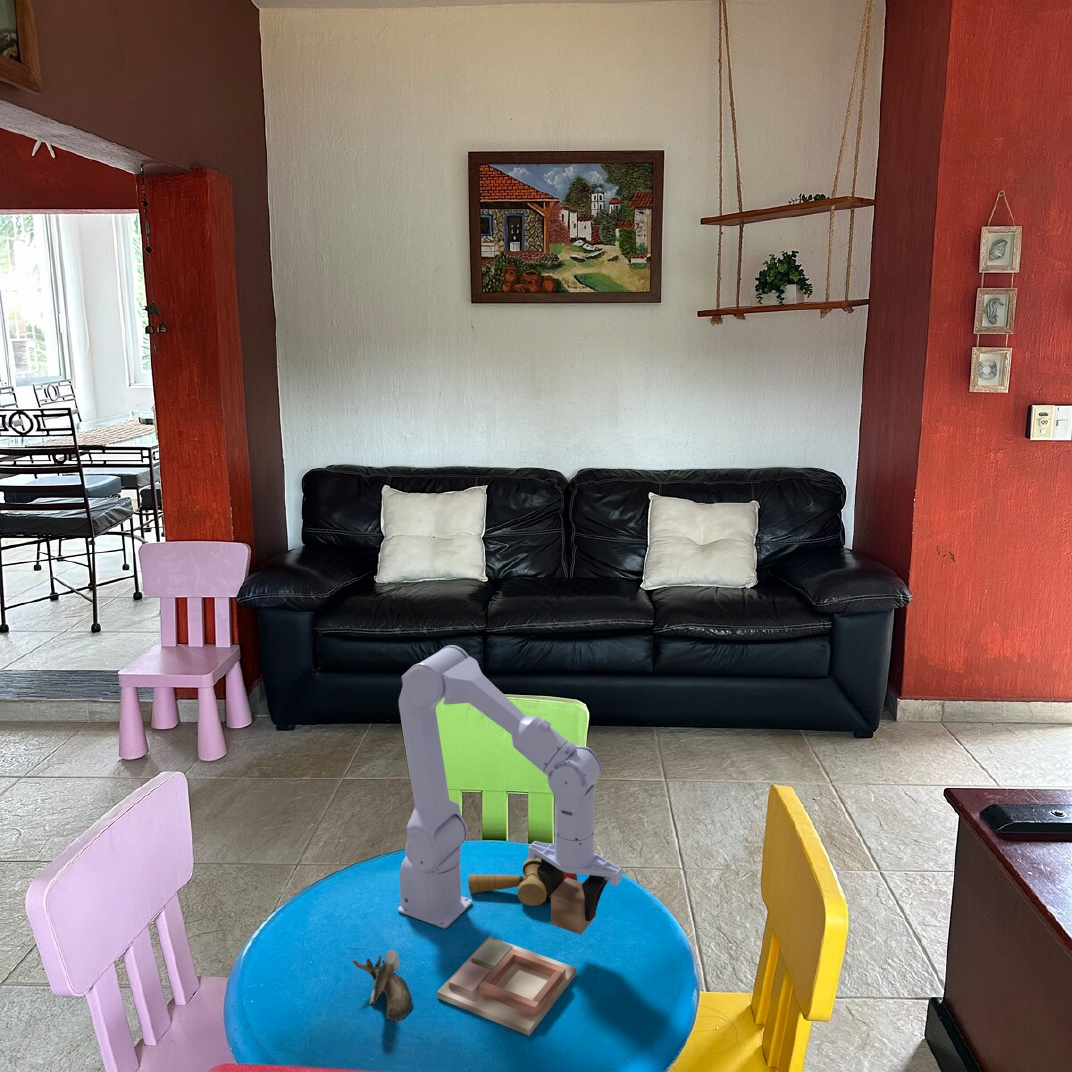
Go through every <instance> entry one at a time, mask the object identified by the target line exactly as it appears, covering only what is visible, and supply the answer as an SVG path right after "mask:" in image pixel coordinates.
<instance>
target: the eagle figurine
mask: <svg viewBox="0 0 1072 1072" xmlns="http://www.w3.org/2000/svg"><path fill="white" fill-rule="evenodd" d="M384 957H385V959H383V960H382V955H381V954H378V959H377V962H376V963H375V964H374V965H373V962H372V961H371V958H370V957H368V958H367V959H366V962H365V964H362V963H360V962H358V961H356V960H355V959H354V960H352V963H353V964H354V966H355V967H357V968H358V969H360V970H361V969H362V970H363V971H365V972H367V973H369V975H371V978H372V980H373V981H374V983H373V985H372V986H373V988H372V993H371V994H370V1000H369V1003H368V1004H369V1005H372V1004H376V1002H377V999H378V998H379V996H380V995H381V994H382V992H383V993H385V995H386V1002H387V1003H386V1013H385V1016H386V1019H387V1020H389V1021H391V1022H393V1021H394V1022H395V1023H398V1022H401V1021H403V1019H404V1018H406V1017H407V1014H410V1011H411V1010H412V1008H413V1007H412V1006H413V1005H412V1004H413V998H412V996H411V992H410V989H409V987H408V984H407V982H406V981H405V980H404V979H403V978H402V977H401V976H399V975H398V974H397V973H396V972H395V971H396V970H399V968H400V967H401V962H400V958H399V954H398V952H397V951H395V950H394V949H390V950H387V951H386V953H385V956H384ZM381 964H382V965H381Z"/></svg>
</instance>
